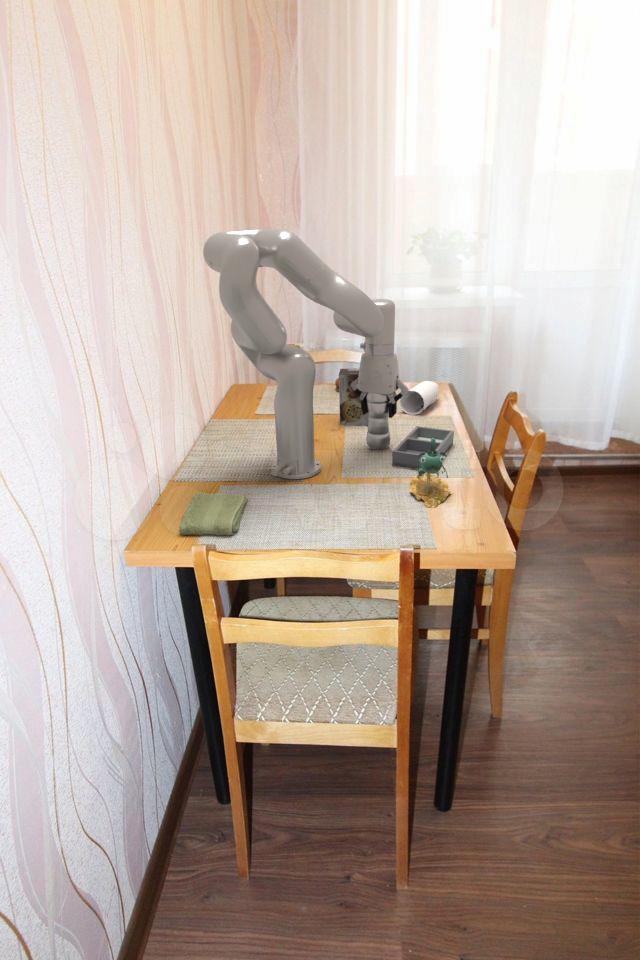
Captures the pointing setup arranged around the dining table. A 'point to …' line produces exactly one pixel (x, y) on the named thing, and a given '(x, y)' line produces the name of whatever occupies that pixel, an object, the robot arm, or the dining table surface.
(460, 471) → the dining table surface
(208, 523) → the washcloth
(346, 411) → the coffee box
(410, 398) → the white hollow cylinder
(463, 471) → the dining table surface
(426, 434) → the grey compartment tray
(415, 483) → the frog figurine
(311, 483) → the dining table surface
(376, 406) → the plastic bottle
